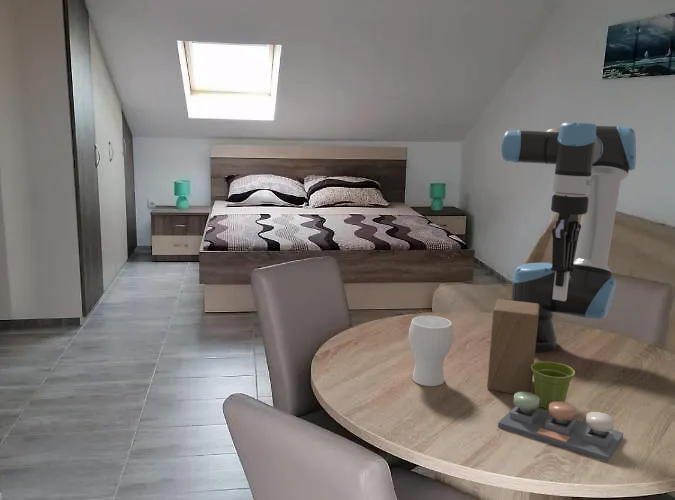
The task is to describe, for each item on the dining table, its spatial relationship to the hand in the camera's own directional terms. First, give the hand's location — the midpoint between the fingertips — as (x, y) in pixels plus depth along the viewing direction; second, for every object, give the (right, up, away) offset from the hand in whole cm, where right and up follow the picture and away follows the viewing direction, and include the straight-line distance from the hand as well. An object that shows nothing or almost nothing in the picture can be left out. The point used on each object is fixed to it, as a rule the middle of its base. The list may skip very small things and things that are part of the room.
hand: (559, 299), depth 143 cm
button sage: (-10, -23, -7) cm, 26 cm away
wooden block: (-8, -22, +12) cm, 26 cm away
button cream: (+2, -25, -16) cm, 30 cm away
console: (-4, -27, -11) cm, 29 cm away
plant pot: (-2, -24, +2) cm, 24 cm away
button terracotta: (-4, -24, -11) cm, 27 cm away
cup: (-28, -21, +13) cm, 37 cm away
